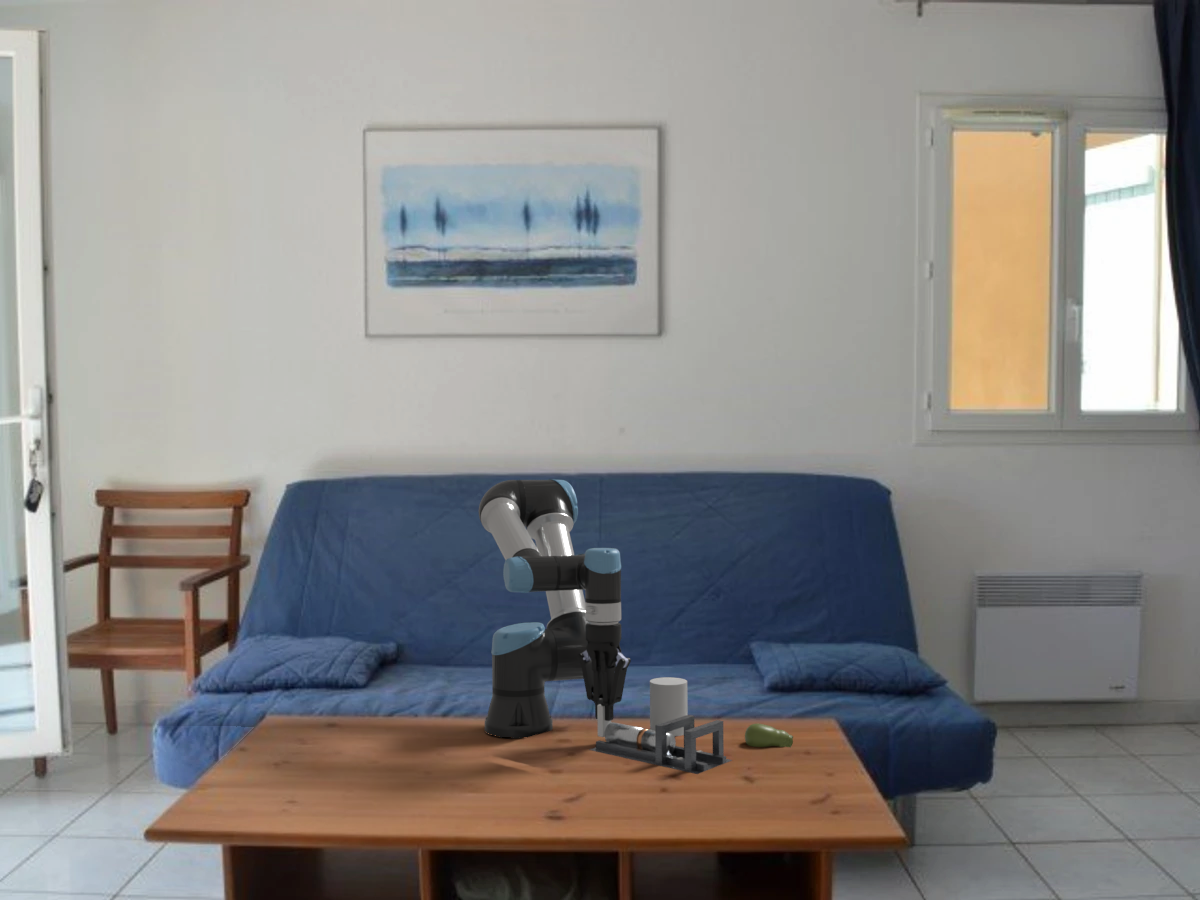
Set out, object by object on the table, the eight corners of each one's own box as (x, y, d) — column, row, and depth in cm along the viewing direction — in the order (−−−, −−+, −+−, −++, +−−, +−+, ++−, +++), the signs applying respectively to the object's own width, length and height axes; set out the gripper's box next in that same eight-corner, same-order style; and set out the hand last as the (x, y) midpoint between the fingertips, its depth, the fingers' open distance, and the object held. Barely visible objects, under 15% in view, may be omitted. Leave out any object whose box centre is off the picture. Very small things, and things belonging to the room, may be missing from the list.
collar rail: (588, 754, 223) (588, 712, 223) (625, 742, 233) (625, 702, 233) (697, 779, 206) (697, 734, 206) (732, 765, 215) (732, 722, 215)
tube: (603, 742, 226) (606, 721, 227) (615, 744, 229) (619, 723, 230) (660, 755, 216) (664, 732, 217) (673, 756, 220) (677, 734, 221)
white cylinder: (687, 731, 241) (687, 677, 241) (687, 741, 233) (686, 685, 233) (651, 731, 242) (650, 677, 242) (649, 740, 234) (648, 684, 234)
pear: (745, 718, 230) (792, 726, 230) (741, 743, 230) (788, 751, 230) (748, 725, 224) (797, 733, 224) (744, 750, 224) (792, 758, 224)
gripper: (568, 621, 230) (569, 734, 230) (615, 627, 221) (616, 743, 221) (591, 617, 236) (592, 727, 235) (638, 622, 227) (640, 736, 227)
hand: (604, 735), depth 228 cm, fingers closed
